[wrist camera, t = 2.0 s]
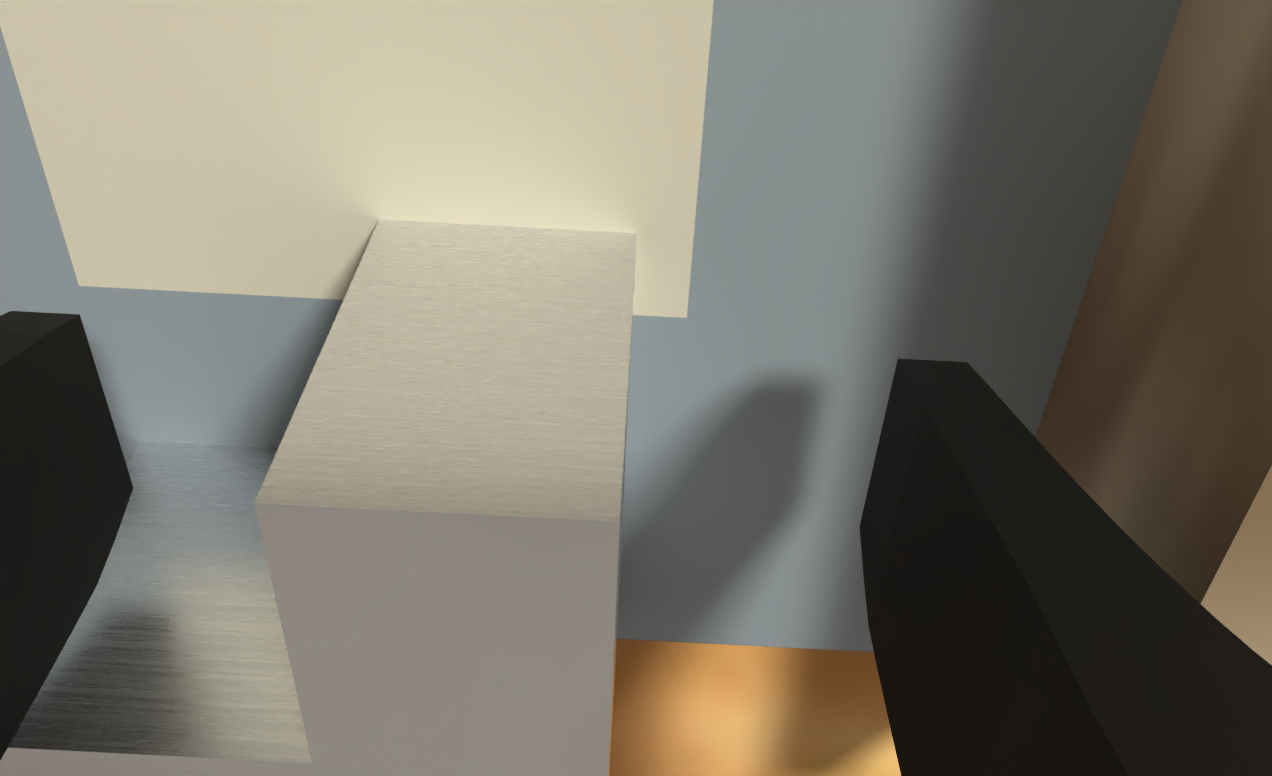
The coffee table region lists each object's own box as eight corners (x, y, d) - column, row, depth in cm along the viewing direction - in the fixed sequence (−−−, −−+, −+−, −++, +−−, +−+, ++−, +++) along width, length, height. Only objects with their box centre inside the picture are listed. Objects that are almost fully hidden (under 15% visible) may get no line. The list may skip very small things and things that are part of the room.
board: (955, 632, 15) (961, 656, 14) (-372, 563, 15) (-396, 586, 14) (1395, -723, 7) (1428, -736, 7) (-1402, -873, 7) (-1499, -892, 7)
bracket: (617, 615, 14) (600, 927, 11) (183, 592, 14) (39, 899, 11) (637, 233, 11) (619, 522, 8) (69, 203, 11) (-185, 478, 8)
